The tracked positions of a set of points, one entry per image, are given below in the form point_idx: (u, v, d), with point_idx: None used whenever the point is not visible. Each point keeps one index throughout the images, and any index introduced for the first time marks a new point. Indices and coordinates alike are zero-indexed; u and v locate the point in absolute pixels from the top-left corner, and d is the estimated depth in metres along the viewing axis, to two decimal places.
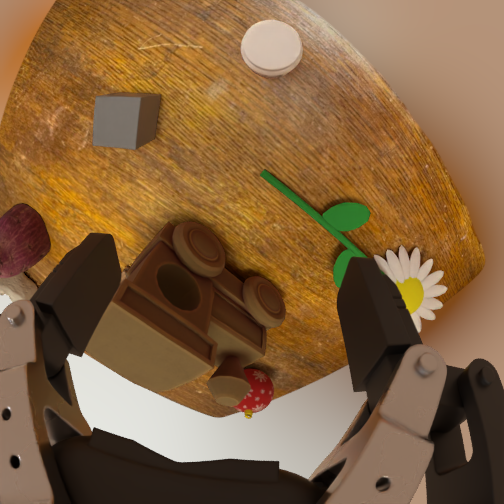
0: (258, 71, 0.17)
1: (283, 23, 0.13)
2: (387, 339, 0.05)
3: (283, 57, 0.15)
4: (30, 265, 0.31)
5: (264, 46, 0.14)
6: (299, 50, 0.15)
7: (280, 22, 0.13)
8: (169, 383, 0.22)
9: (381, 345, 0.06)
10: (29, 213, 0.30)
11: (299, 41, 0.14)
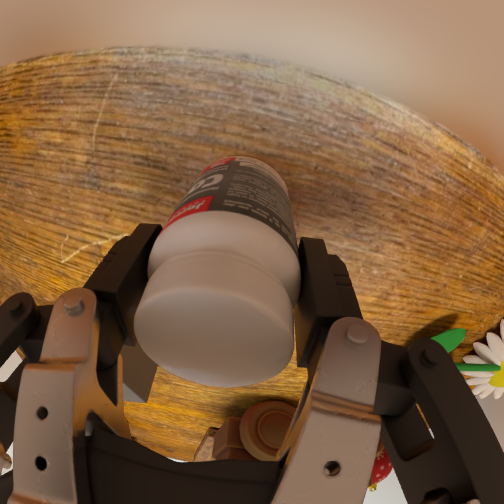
0: None
1: (193, 294, 0.05)
2: (317, 310, 0.06)
3: (257, 365, 0.07)
4: None
5: (198, 358, 0.07)
6: (287, 340, 0.06)
7: (182, 295, 0.05)
8: None
9: (313, 316, 0.06)
10: None
11: (274, 321, 0.06)
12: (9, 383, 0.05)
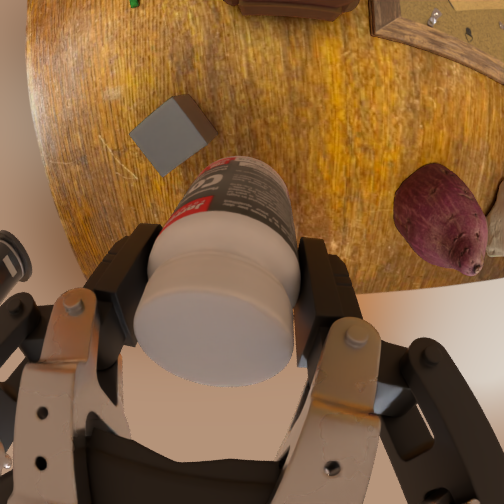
0: None
1: (193, 294, 0.05)
2: (317, 310, 0.06)
3: (257, 365, 0.07)
4: (461, 185, 0.20)
5: (198, 358, 0.07)
6: (287, 340, 0.06)
7: (182, 295, 0.05)
8: None
9: (313, 316, 0.06)
10: (398, 209, 0.26)
11: (274, 321, 0.06)
12: (9, 383, 0.05)
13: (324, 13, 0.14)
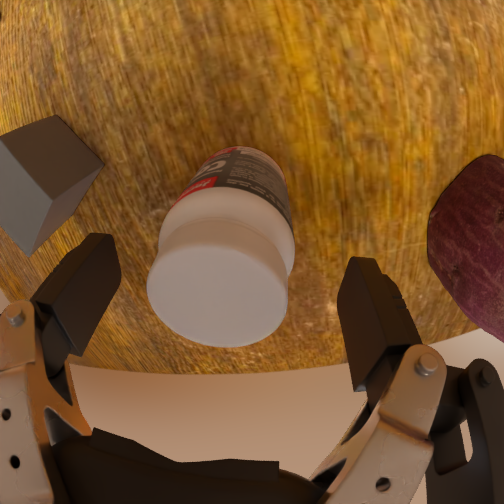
0: None
1: (201, 248, 0.06)
2: (387, 339, 0.05)
3: (256, 321, 0.08)
4: None
5: (203, 314, 0.08)
6: (281, 294, 0.07)
7: (192, 250, 0.06)
8: None
9: (381, 345, 0.06)
10: (436, 244, 0.14)
11: (269, 274, 0.07)
12: None
13: None
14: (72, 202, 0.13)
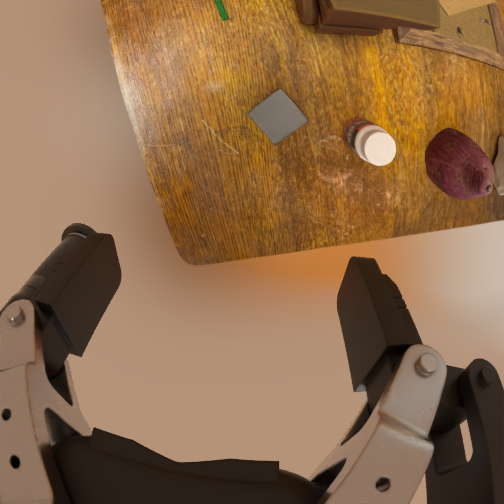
0: None
1: (381, 133, 0.25)
2: (387, 339, 0.05)
3: (389, 155, 0.27)
4: (469, 140, 0.27)
5: (377, 152, 0.27)
6: (395, 147, 0.26)
7: (379, 133, 0.25)
8: None
9: (381, 345, 0.06)
10: (429, 163, 0.33)
11: (393, 141, 0.26)
12: None
13: (370, 32, 0.21)
14: None
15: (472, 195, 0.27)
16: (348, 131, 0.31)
